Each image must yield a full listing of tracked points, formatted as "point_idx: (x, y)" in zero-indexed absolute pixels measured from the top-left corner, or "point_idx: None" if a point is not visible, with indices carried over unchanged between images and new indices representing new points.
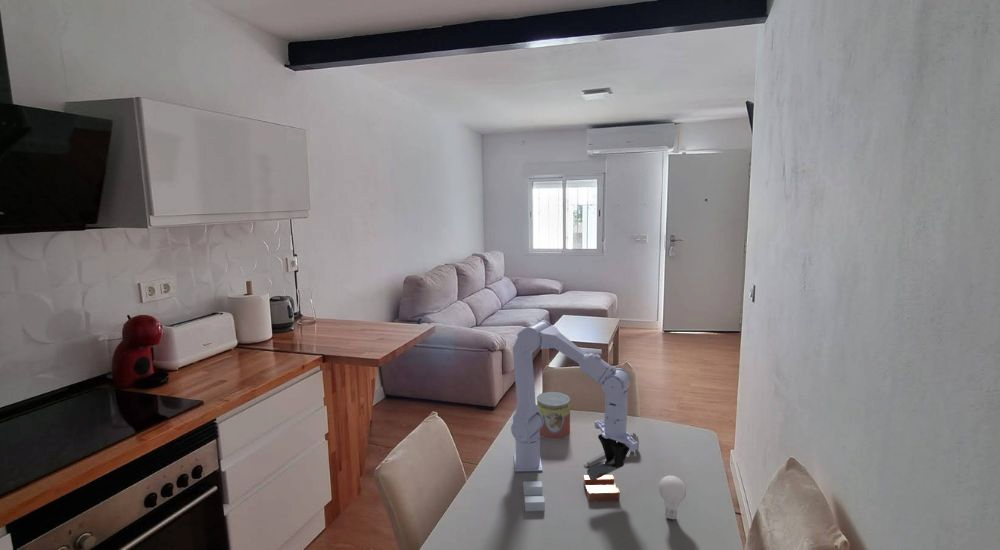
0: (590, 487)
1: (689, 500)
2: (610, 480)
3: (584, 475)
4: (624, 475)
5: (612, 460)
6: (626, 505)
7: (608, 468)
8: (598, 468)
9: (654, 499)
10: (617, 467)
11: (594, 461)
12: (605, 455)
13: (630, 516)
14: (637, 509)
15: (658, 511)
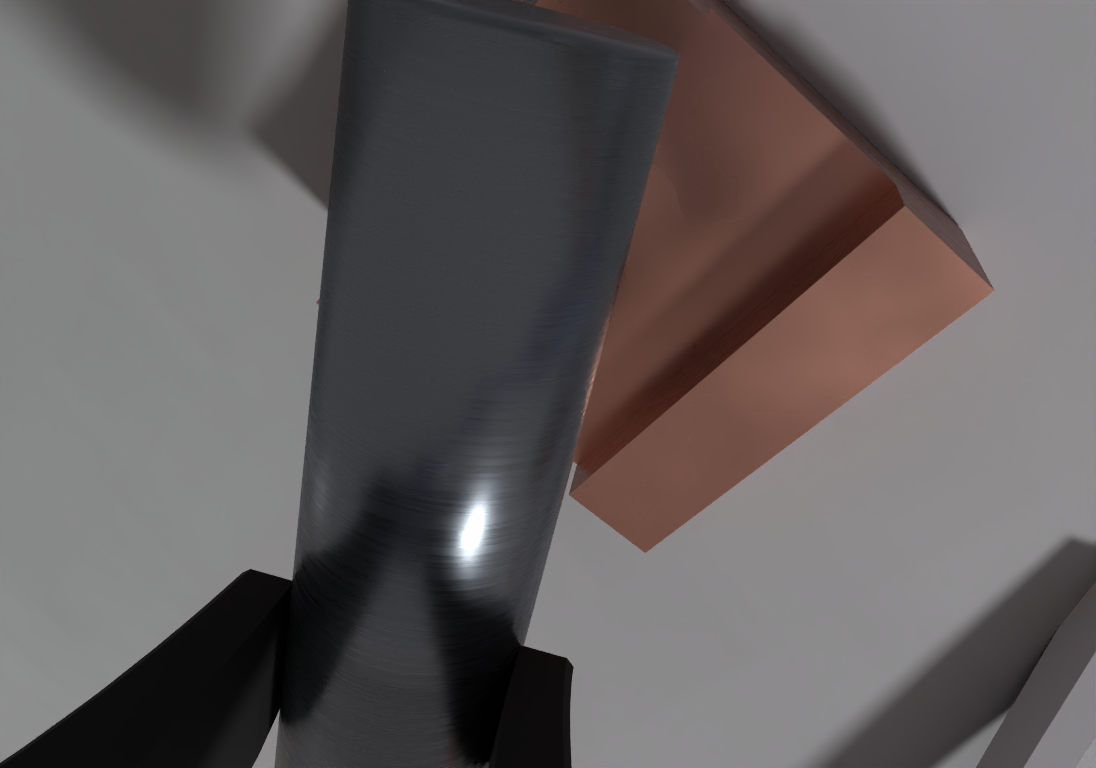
0: (747, 144)
1: (65, 643)
2: (605, 452)
3: (980, 293)
4: (645, 648)
5: (344, 687)
6: (265, 237)
7: (308, 456)
8: (375, 269)
9: (200, 503)
10: (234, 582)
11: (1066, 675)
12: (545, 753)
13: (87, 94)
14: (153, 263)
15: (43, 378)
